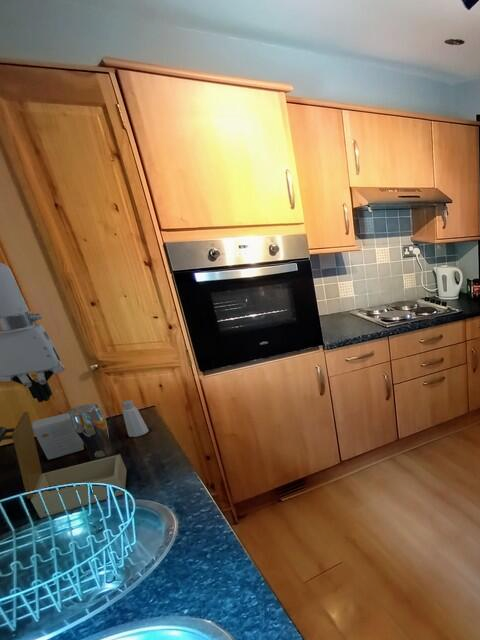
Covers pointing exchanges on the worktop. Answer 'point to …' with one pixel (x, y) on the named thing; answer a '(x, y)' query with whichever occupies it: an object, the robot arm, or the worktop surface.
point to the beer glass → (92, 430)
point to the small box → (57, 436)
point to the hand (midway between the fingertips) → (44, 399)
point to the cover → (25, 452)
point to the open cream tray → (93, 472)
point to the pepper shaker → (133, 420)
